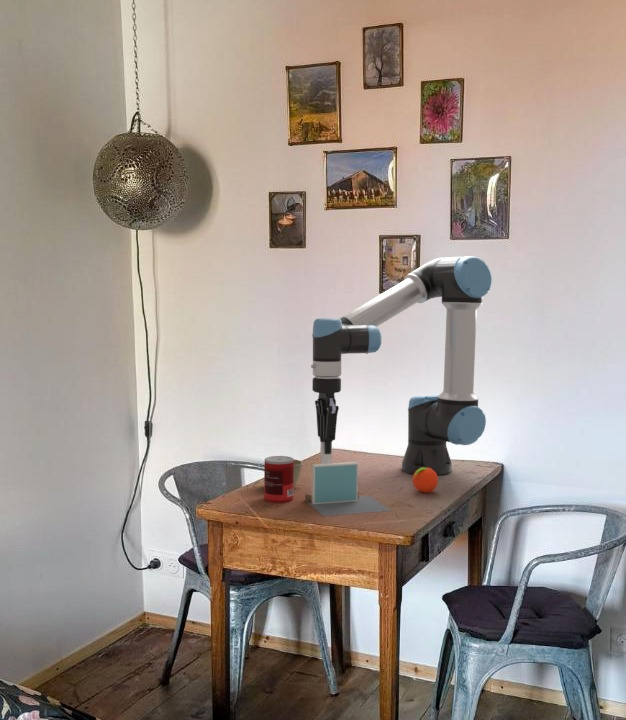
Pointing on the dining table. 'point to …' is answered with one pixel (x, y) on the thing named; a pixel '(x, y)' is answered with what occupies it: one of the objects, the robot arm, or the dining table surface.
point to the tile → (334, 482)
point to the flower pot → (297, 470)
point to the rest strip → (309, 497)
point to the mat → (350, 507)
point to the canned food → (279, 479)
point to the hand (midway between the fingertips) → (326, 465)
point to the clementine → (425, 480)
